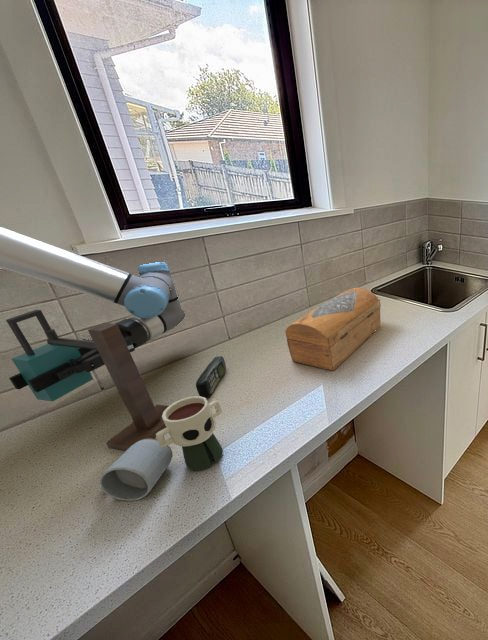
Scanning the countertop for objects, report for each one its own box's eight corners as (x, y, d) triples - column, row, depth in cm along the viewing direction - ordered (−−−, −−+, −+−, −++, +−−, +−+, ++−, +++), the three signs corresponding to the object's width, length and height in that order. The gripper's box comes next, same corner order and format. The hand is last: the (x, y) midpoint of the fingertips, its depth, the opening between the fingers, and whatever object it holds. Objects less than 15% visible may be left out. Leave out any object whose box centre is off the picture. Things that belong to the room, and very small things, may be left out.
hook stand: (67, 441, 71) (0, 335, 59) (122, 404, 81) (74, 308, 70) (137, 452, 68) (80, 344, 57) (185, 412, 78) (145, 314, 67)
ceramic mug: (181, 461, 66) (167, 431, 63) (156, 498, 59) (139, 467, 55) (122, 467, 65) (105, 437, 61) (90, 506, 57) (68, 475, 54)
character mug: (186, 488, 61) (161, 434, 55) (166, 471, 64) (141, 419, 58) (242, 448, 69) (226, 398, 63) (222, 435, 72) (205, 386, 67)
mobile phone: (205, 383, 81) (225, 350, 94) (192, 384, 80) (214, 351, 93) (211, 399, 83) (230, 365, 96) (198, 400, 83) (219, 366, 96)
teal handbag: (37, 399, 69) (-12, 322, 62) (79, 377, 76) (40, 305, 69) (52, 401, 69) (5, 324, 61) (93, 379, 76) (55, 307, 68)
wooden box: (343, 319, 124) (339, 284, 118) (383, 326, 119) (380, 290, 113) (286, 360, 99) (277, 318, 93) (333, 372, 93) (327, 328, 87)
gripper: (169, 346, 87) (67, 405, 66) (114, 340, 89) (0, 395, 69) (159, 320, 83) (49, 373, 63) (102, 315, 86) (-22, 364, 65)
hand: (23, 385), depth 66 cm, fingers closed on teal handbag, 4 cm apart
